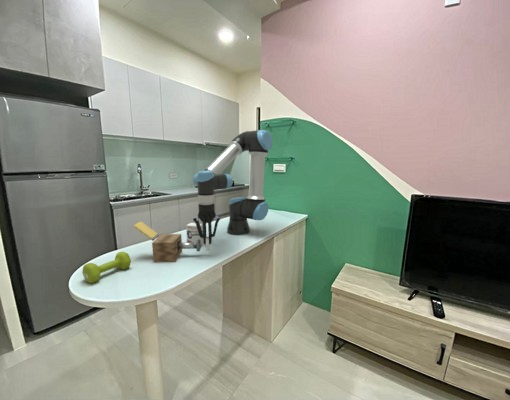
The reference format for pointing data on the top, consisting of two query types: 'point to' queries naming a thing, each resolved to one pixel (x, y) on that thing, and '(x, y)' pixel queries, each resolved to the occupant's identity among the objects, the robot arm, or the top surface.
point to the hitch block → (166, 248)
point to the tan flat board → (146, 230)
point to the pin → (190, 245)
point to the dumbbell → (105, 267)
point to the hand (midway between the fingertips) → (208, 250)
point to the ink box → (194, 233)
